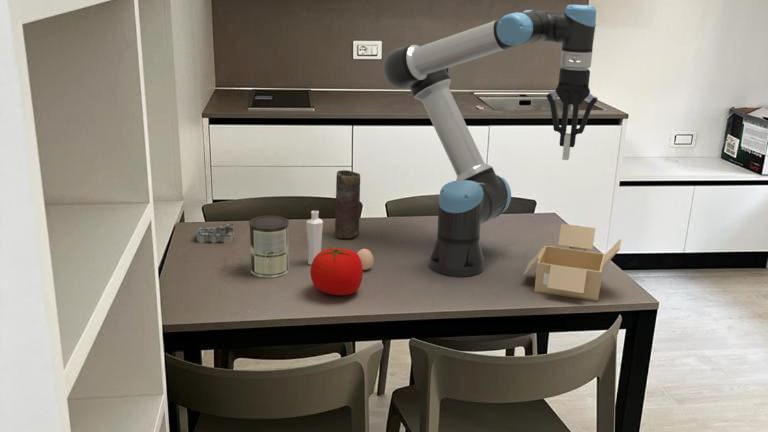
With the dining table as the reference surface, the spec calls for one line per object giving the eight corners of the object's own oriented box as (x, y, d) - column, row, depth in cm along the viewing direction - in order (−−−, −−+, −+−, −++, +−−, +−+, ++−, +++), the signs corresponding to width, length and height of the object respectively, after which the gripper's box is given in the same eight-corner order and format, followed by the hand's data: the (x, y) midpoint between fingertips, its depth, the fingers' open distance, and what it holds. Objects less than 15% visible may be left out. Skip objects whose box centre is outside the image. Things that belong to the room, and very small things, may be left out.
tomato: (368, 284, 206) (369, 242, 203) (354, 305, 194) (355, 261, 190) (320, 279, 209) (321, 237, 205) (304, 299, 196) (304, 255, 193)
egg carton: (235, 236, 239) (235, 223, 238) (231, 244, 232) (230, 231, 231) (200, 234, 239) (200, 222, 238) (194, 243, 232) (194, 230, 231)
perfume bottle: (326, 263, 220) (327, 211, 215) (315, 267, 217) (315, 215, 212) (315, 258, 223) (315, 208, 218) (303, 262, 220) (303, 211, 215)
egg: (355, 273, 214) (356, 252, 212) (353, 266, 218) (354, 246, 217) (374, 272, 214) (375, 252, 213) (371, 265, 219) (372, 245, 217)
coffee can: (242, 269, 213) (241, 220, 209) (273, 260, 220) (272, 212, 216) (265, 281, 206) (264, 230, 202) (296, 271, 213) (296, 222, 209)
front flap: (550, 264, 202) (547, 287, 200) (550, 264, 201) (547, 287, 200) (587, 270, 199) (583, 293, 198) (587, 269, 199) (583, 293, 197)
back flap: (558, 244, 214) (561, 223, 216) (558, 244, 215) (561, 224, 216) (592, 249, 211) (595, 228, 213) (592, 249, 212) (595, 228, 213)
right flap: (602, 265, 200) (618, 248, 198) (604, 254, 208) (620, 238, 205) (603, 266, 200) (619, 249, 198) (606, 255, 208) (621, 239, 205)
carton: (534, 291, 205) (537, 263, 203) (542, 272, 218) (544, 245, 215) (597, 301, 200) (601, 272, 198) (601, 281, 213) (605, 253, 211)
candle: (345, 230, 246) (346, 168, 240) (364, 235, 242) (365, 172, 236) (329, 236, 240) (330, 173, 234) (348, 242, 236) (350, 177, 230)
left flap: (538, 258, 206) (525, 275, 208) (543, 248, 213) (529, 264, 215) (537, 257, 206) (523, 274, 208) (542, 247, 213) (528, 263, 215)
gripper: (547, 67, 199) (538, 159, 206) (600, 71, 195) (589, 164, 202) (551, 64, 206) (542, 153, 213) (602, 68, 202) (592, 158, 209)
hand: (565, 158), depth 208 cm, fingers closed
